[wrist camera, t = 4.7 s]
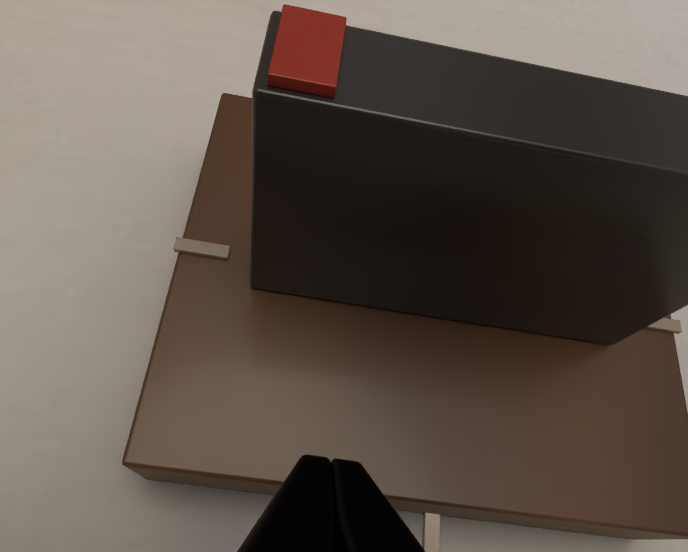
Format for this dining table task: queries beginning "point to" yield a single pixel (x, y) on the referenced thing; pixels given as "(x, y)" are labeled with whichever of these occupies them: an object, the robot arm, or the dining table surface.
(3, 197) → the dining table surface
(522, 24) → the dining table surface
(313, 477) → the robot arm
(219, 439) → the dial panel
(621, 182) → the pointer
